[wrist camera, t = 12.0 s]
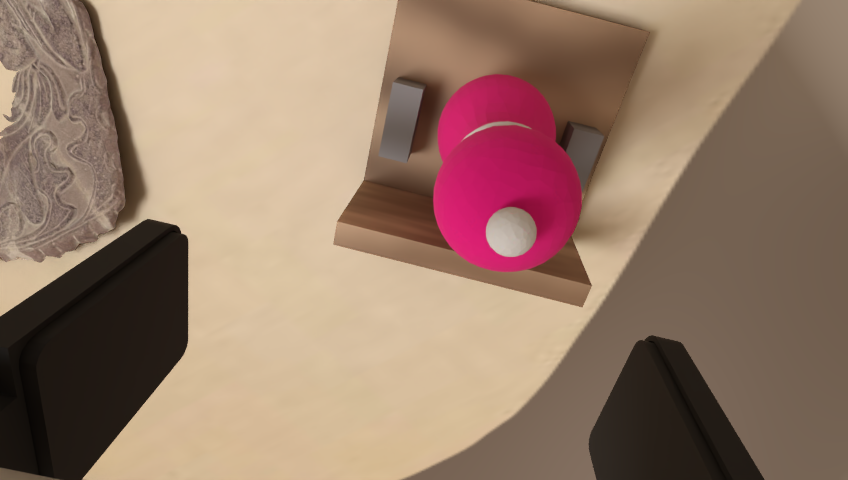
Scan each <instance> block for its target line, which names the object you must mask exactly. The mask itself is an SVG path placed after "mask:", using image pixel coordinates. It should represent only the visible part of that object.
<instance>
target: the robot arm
mask: <svg viewBox="0 0 848 480" xmlns="http://www.w3.org/2000/svg"><path fill="white" fill-rule="evenodd" d="M187 343H188V238H187V236H186V235H184V234H181V231H180V228H179V227H178V226H177V225H172V224H168V223H164V222H159V221H155V220H150V219H147V220H145V221H143V222H141V223H140V224H138V225H137V226H135V227H134V228H132V229H131V230H129V231H128V232H126V233H125V234H123V235H122V236H120V237H119V238H117V239H116V240H114V241H113V242H111V243H110V244H108V245H107V246H105V247H104V248H102V249H101V250H99V251H98V252H96V253H95V254H93V255H92V256H90V257H89V258H87V259H86V260H84V261H83V262H81V263H80V264H78V265H77V266H75V267H74V268H72V269H71V270H69V271H68V272H66V273H65V274H63V275H62V276H60V277H59V278H57V279H56V280H54V281H53V282H51V283H50V284H48V285H47V286H45V287H44V288H42V289H41V290H39V291H38V292H36V293H35V294H33V295H32V296H30V297H29V298H27V299H26V300H24V301H23V302H21V303H20V304H18V305H17V306H15V307H14V308H12V309H11V310H9V311H8V312H6V313H5V314H3V315H2V316H0V480H82V479H83V477H84V476H85V475H86V474H87V472H88V471H89V470H90V469H91V468H92V466H93V465H94V464H95V463H96V461H97V460H98V459H99V458H100V457H101V455H102V454H103V453H104V452H105V450H106V449H107V448H108V447H109V446H110V444H111V443H112V442H113V441H114V439H115V438H116V437H117V436H118V435H119V433H120V432H121V431H122V430H123V429H124V427H125V426H126V425H127V424H128V422H129V421H130V420H131V419H132V418H133V416H134V415H135V414H136V413H137V411H138V410H139V409H140V408H141V407H142V405H143V404H144V403H145V402H146V400H147V399H148V398H149V397H150V396H151V394H152V393H153V392H154V391H155V389H156V388H157V387H158V386H159V385H160V383H161V382H162V381H163V380H164V378H165V377H166V376H167V375H168V374H169V372H170V371H171V370H172V369H173V367H174V366H175V365H176V364H177V363H178V361H179V360H180V359H181V358H182V356H183V354H184V352H185V350H186V347H187ZM589 451H590V455H591V460H592V463H593V468H594V471H595V475H596V479H597V480H764V478H763V476H762V475H761V473H760V471H759V470H758V468H757V466H756V465H755V463H754V461H753V460H752V458H751V457H750V455H749V453H748V452H747V450H746V448H745V447H744V445H743V443H742V442H741V440H740V438H739V437H738V435H737V433H736V432H735V430H734V428H733V427H732V425H731V423H730V422H729V420H728V418H727V417H726V415H725V413H724V412H723V410H722V409H721V407H720V405H719V404H718V402H717V400H716V399H715V397H714V395H713V394H712V392H711V390H710V389H709V387H708V385H707V384H706V382H705V380H704V379H703V377H702V375H701V374H700V372H699V370H698V369H697V367H696V365H695V364H694V362H693V360H692V359H691V357H690V356H689V354H688V352H687V351H686V349H685V347H684V346H683V344H682V343H681V342H678V341H674V340H670V339H665V338H661V337H656V336H649V337H647V338H646V339H645V341H643V340H640V341H638V342H637V343H636V344H635V346H634V348H633V350H632V351H631V353H630V355H629V357H628V360H627V361H626V364H625V365H624V367H623V369H622V372H621V374H620V375H619V377H618V379H617V381H616V384H615V385H614V387H613V390H612V392H611V394H610V396H609V398H608V400H607V402H606V404H605V406H604V408H603V410H602V412H601V414H600V416H599V418H598V420H597V422H596V424H595V426H594V428H593V430H592V432H591V434H590V438H589Z"/></svg>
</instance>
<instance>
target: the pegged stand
mask: <svg viewBox="0 0 848 480" xmlns="http://www.w3.org/2000/svg"><path fill="white" fill-rule="evenodd" d="M649 33H650V32H648V31H644V30H640V29H636V28H632V27H628V26H625V25H621V24H617V23H613V22H609V21H605V20H602V19H598V18H594V17H590V16H586V15H582V14H578V13H575V12H571V11H567V10H563V9H559V8H555V7H552V6H548V5H544V4H540V3H536V2H532V1H529V0H398V4H397V9H396V14H395V19H394V25H393V30H392V35H391V40H390V46H389V51H388V56H387V61H386V67H385V72H384V77H383V82H382V88H381V93H380V98H379V104H378V109H377V114H376V119H375V125H374V130H373V135H372V140H371V146H370V151H369V156H368V161H367V167H366V172H365V177H364V181H363V183H362V184H361V186H360V187H359V189H358V190H357V192H356V193H355V195H354V196H353V198H352V200H351V201H350V203H349V204H348V206H347V207H346V209H345V210H344V212H343V213H342V215H341V217H340V218H339V220H338V221H337V226H336V232H335V238H334V245H338V246H342V247H346V248H350V249H353V250H357V251H361V252H365V253H369V254H373V255H377V256H381V257H385V258H389V259H393V260H397V261H401V262H405V263H409V264H413V265H417V266H421V267H425V268H429V269H433V270H437V271H441V272H445V273H449V274H453V275H457V276H460V277H464V278H468V279H472V280H476V281H480V282H484V283H488V284H492V285H496V286H500V287H504V288H508V289H512V290H516V291H520V292H524V293H528V294H532V295H536V296H540V297H544V298H548V299H552V300H556V301H560V302H564V303H568V304H571V305H575V306H579V307H583V305H584V302H585V300H586V298H587V295H588V293H589V291H590V289H591V286H592V285H591V283H590V280H589V278H588V275H587V273H586V271H585V268H584V266H583V263H582V261H581V259H580V256H579V254H578V251H577V249H576V247H575V244H574V242H573V239H572V237H570V238H569V240H568V241H567V243H566V244H565V245H564V247H563V248H562V249H561V250H560V251H559V252H558V253H557V254H556V255H555V256H553V257H552V258H550V259H549V260H547V261H546V262H545V263H542V264H540V265H538V266H536V267H533V268H531V269H527V270H522V271H518V272H498V271H491V270H488V269H484V268H481V267H478V266H476V265H474V264H471V263H469V262H468V261H466V260H465V259H464V258H462V257H461V256H459V255H458V254H457V253H456V252H455V251H454V250H453V249H452V248H451V247H450V246H449V244H448V243H447V241H446V240H445V238H444V237H443V235H442V233H441V231H440V229H439V227H438V224H437V221H436V217H435V214H434V205H433V195H434V186H435V182H436V178H437V175H438V172H439V170H440V168H441V166H442V164H443V161H442V159H441V156H440V152H439V146H438V125H439V119H440V117H441V114H442V111H443V109H444V107H445V105H446V103H447V102H448V101H449V99H450V98H451V97H452V95H453V94H454V93H455V92H456V91H457V90H458V89H459V88H461V87H462V86H464V85H465V84H466V83H468V82H470V81H472V80H474V79H476V78H479V77H482V76H487V75H494V74H502V75H510V76H514V77H518V78H520V79H522V80H525V81H527V82H528V83H530V84H531V85H532V86H534V87H535V88H537V89H538V91H539V92H540V93H541V94H542V95H543V96H544V97H545V99H546V101H547V102H548V104H549V106H550V108H551V111H552V113H553V116H554V121H555V126H556V141H555V142H556V143H557V144H558V145H559V146H561V147H562V148H563V149H564V151H565V152H566V153H567V154H568V156H569V157H570V158H571V160H572V162H573V164H574V166H575V168H576V171H577V173H578V176H579V179H580V183H581V190H582V201H583V198H584V196H585V193H586V191H587V188H588V186H589V183H590V181H591V178H592V176H593V173H594V171H595V168H596V166H597V163H598V161H599V158H600V156H601V153H602V151H603V148H604V146H605V143H606V141H607V138H608V136H609V133H610V131H611V128H612V126H613V123H614V121H615V118H616V116H617V113H618V111H619V108H620V106H621V103H622V101H623V98H624V95H625V93H626V90H627V88H628V85H629V83H630V80H631V78H632V75H633V73H634V70H635V68H636V65H637V63H638V60H639V58H640V55H641V53H642V50H643V48H644V45H645V43H646V40H647V38H648V35H649Z"/></svg>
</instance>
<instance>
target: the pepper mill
mask: <svg viewBox="0 0 848 480" xmlns="http://www.w3.org/2000/svg"><path fill="white" fill-rule="evenodd" d="M555 141H556V126H555V121H554V116H553V113H552V111H551V108H550V106H549V104H548V102H547V101H546V99H545V97H544V96H543V95H542V94H541V93H540V92H539V91H538V89H537V88H535V87H534V86H532V85H531V84H530V83H528V82H527V81H525V80H522V79H520V78H518V77H514V76H510V75H502V74H494V75H487V76H482V77H479V78H476V79H474V80H472V81H470V82H468V83H466V84H465V85H464V86H462V87H461V88H459V89H458V90H457V91H456V92H455V93H454V94H453V95H452V97H451V98H450V99H449V101H448V102H447V103H446V105H445V107H444V109H443V111H442V114H441V117H440V119H439V125H438V146H439V152H440V156H441V159H442V161H443V164H442V166H441V168H440V170H439V172H438V175H437V178H436V182H435V186H434V195H433V205H434V214H435V217H436V221H437V224H438V227H439V229H440V231H441V233H442V235H443V237H444V238H445V240H446V241H447V243H448V244H449V246H450V247H451V248H452V249H453V250H454V251H455V252H456V253H457V254H458V255H459V256H461V257H462V258H464V259H465V260H466V261H468V262H469V263H471V264H474V265H476V266H478V267H481V268H484V269H488V270H491V271H498V272H518V271H522V270H527V269H531V268H533V267H536V266H538V265H540V264H542V263H545V262H546V261H547V260H549V259H550V258H552V257H553V256H555V255H556V254H557V253H558V252H559V251H560V250H561V249H562V248H563V247H564V245H565V244H566V243H567V241H568V240H569V238H570V237H571V235H572V234H573V232H574V230H575V227H576V225H577V222H578V220H579V216H580V212H581V208H582V190H581V183H580V179H579V176H578V173H577V171H576V168H575V166H574V164H573V162H572V160H571V158H570V157H569V156H568V154H567V153H566V152H565V151H564V149H563V148H562V147H561V146H559V145H558V144H557V143H556V142H555Z"/></svg>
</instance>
